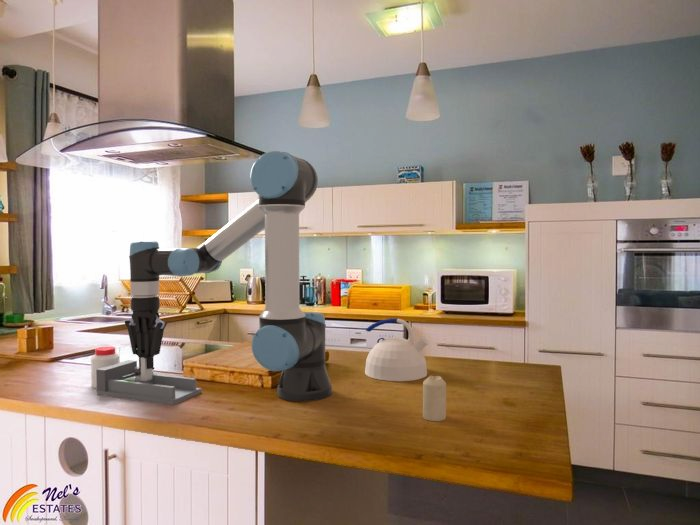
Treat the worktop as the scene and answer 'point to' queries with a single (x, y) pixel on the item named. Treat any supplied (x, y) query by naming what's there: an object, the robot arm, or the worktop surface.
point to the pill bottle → (102, 361)
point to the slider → (137, 376)
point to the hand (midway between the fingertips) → (146, 379)
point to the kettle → (396, 356)
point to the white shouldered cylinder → (434, 399)
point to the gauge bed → (144, 385)
